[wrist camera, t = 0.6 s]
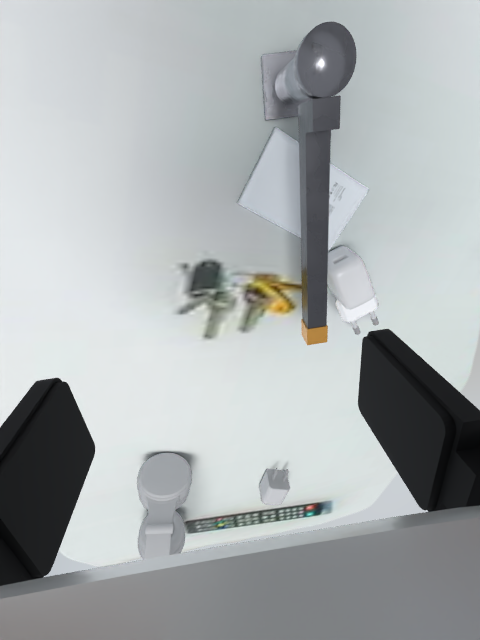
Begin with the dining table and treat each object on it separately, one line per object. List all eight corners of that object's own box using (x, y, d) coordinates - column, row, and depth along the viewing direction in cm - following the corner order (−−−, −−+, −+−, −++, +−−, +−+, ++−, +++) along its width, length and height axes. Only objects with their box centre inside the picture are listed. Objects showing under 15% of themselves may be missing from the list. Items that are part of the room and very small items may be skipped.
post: (260, 56, 29) (283, 23, 21) (313, 50, 30) (356, 15, 22) (264, 120, 32) (286, 112, 24) (313, 113, 32) (352, 103, 24)
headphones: (141, 449, 53) (114, 593, 36) (193, 450, 54) (189, 588, 37) (141, 519, 62) (119, 660, 45) (185, 518, 63) (180, 654, 46)
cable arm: (283, 42, 24) (297, 25, 20) (335, 36, 24) (358, 18, 20) (294, 335, 36) (303, 355, 33) (328, 330, 37) (341, 349, 33)
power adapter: (372, 308, 44) (394, 330, 39) (340, 325, 45) (358, 348, 40) (346, 239, 39) (368, 253, 34) (310, 259, 40) (326, 276, 35)
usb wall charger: (258, 483, 60) (262, 504, 57) (269, 458, 57) (274, 479, 54) (278, 484, 61) (282, 505, 58) (290, 460, 58) (296, 481, 55)
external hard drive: (273, 127, 33) (364, 187, 37) (236, 201, 36) (323, 249, 40) (276, 126, 31) (370, 189, 35) (237, 204, 35) (328, 253, 38)
